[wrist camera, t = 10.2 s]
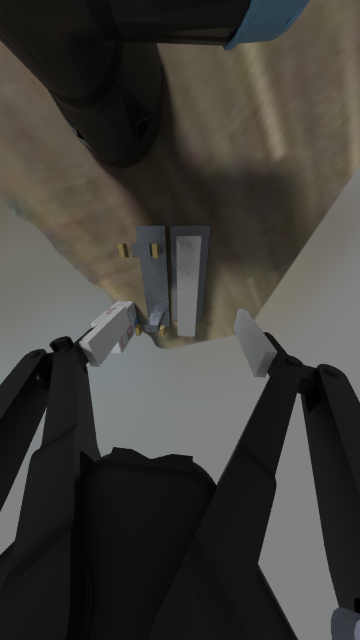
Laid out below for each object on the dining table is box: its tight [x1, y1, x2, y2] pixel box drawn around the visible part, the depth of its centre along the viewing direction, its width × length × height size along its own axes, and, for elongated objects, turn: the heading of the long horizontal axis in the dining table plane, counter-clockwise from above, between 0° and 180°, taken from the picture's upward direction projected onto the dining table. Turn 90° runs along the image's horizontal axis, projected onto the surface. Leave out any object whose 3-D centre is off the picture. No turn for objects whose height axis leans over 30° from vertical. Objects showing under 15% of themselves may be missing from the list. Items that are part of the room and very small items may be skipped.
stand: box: [118, 226, 170, 337], centre depth 29 cm, size 24×6×10 cm, turn 0°
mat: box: [170, 225, 211, 322], centre depth 32 cm, size 22×8×1 cm, turn 0°
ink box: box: [91, 301, 138, 354], centre depth 34 cm, size 8×5×12 cm, turn 0°
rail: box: [176, 236, 201, 336], centre depth 29 cm, size 20×4×7 cm, turn 0°
